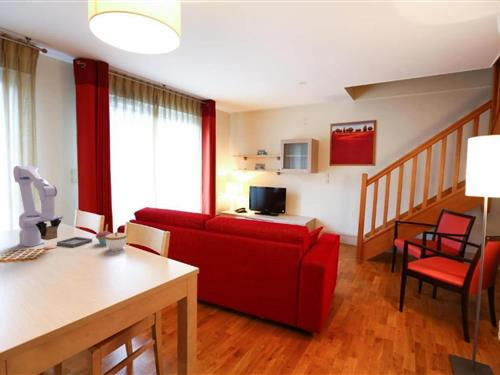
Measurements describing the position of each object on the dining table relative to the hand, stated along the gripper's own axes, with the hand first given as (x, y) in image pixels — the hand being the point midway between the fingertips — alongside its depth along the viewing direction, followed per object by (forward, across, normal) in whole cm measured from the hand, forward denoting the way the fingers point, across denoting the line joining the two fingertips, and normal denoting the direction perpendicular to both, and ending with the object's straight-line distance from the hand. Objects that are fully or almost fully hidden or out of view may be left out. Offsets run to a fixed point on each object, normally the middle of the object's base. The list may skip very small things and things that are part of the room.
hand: (48, 234), depth 141 cm
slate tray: (+8, +14, -1) cm, 17 cm away
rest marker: (+8, +3, +4) cm, 10 cm away
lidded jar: (+9, +15, -30) cm, 34 cm away
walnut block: (+2, 0, 0) cm, 2 cm away
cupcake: (+9, +21, -16) cm, 27 cm away
